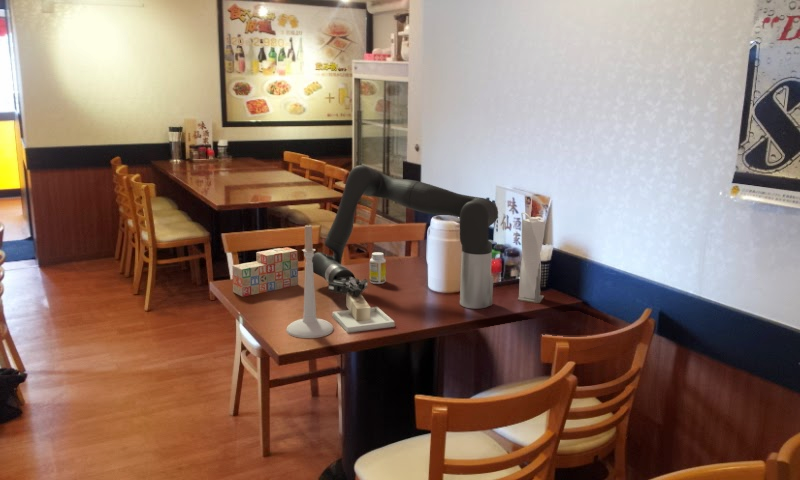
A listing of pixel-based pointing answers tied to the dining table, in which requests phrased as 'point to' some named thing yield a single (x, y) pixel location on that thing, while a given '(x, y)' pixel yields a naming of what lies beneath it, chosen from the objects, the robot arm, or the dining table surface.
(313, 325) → the candlestick
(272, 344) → the dining table surface
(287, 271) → the stack of blocks
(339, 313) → the tray
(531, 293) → the skyscraper
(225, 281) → the dining table surface
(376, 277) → the supplement bottle
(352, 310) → the block
